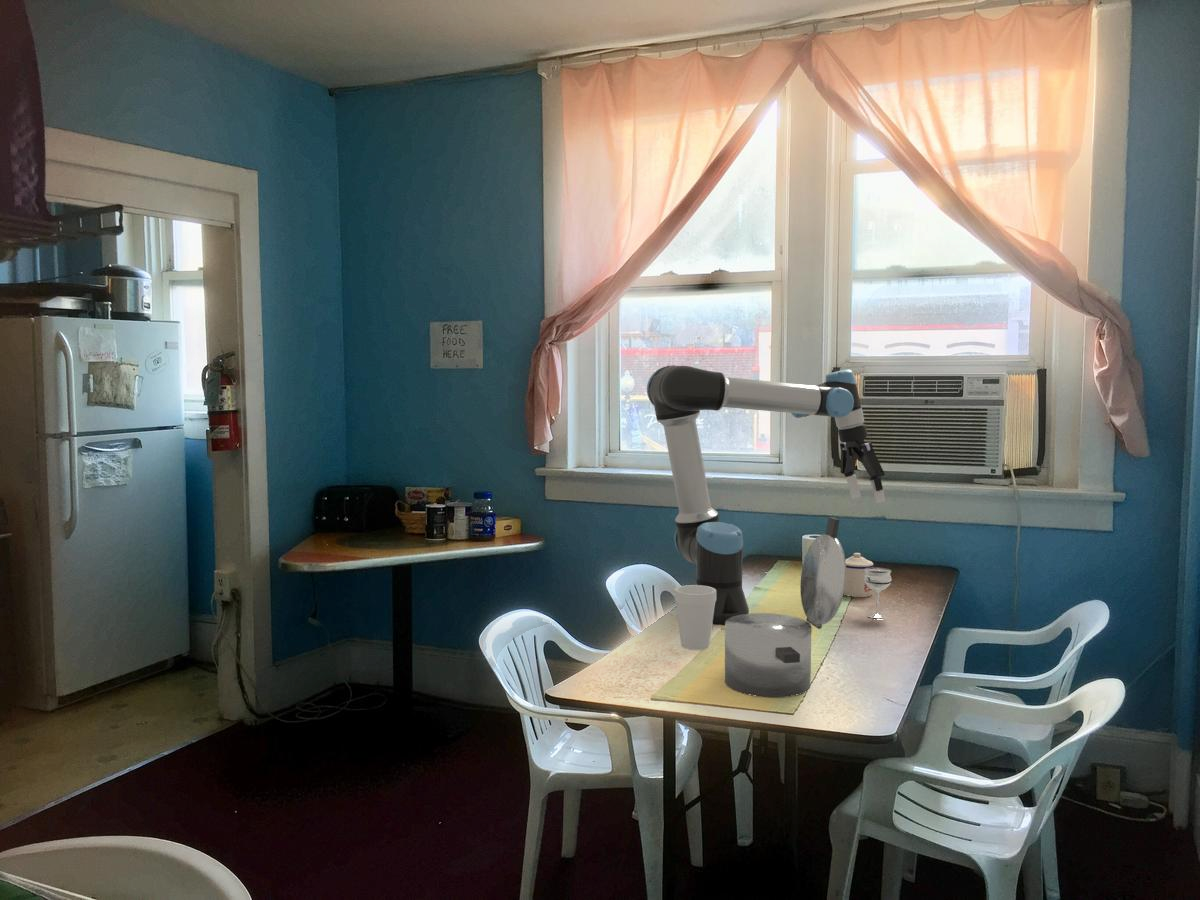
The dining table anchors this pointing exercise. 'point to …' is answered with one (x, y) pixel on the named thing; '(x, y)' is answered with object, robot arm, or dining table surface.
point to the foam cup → (695, 615)
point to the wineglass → (877, 583)
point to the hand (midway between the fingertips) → (868, 500)
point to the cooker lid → (823, 577)
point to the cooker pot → (767, 654)
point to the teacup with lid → (857, 576)
